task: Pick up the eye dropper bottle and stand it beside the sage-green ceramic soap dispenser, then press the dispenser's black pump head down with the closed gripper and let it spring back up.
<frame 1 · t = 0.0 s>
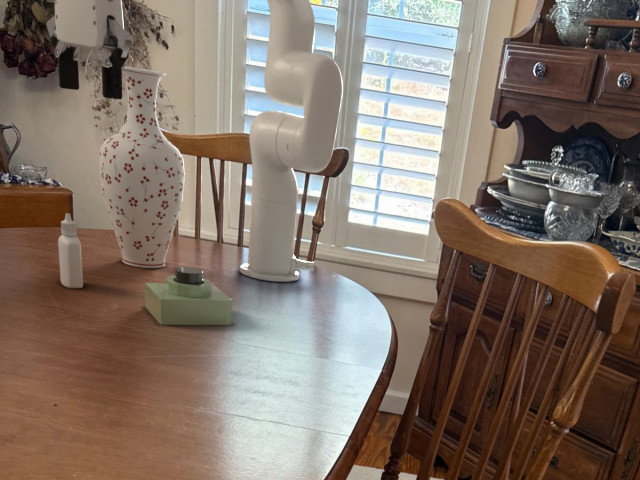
hand: (90, 93, 118), 31 cm above the table, tool pointing down, fingers open, 9 cm apart
eye dropper bottle: (72, 286, 138), on the table
pump: (188, 276, 129), point 7 cm above the table, slide at 0.1 cm
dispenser: (188, 316, 132), on the table
vase: (144, 264, 160), on the table
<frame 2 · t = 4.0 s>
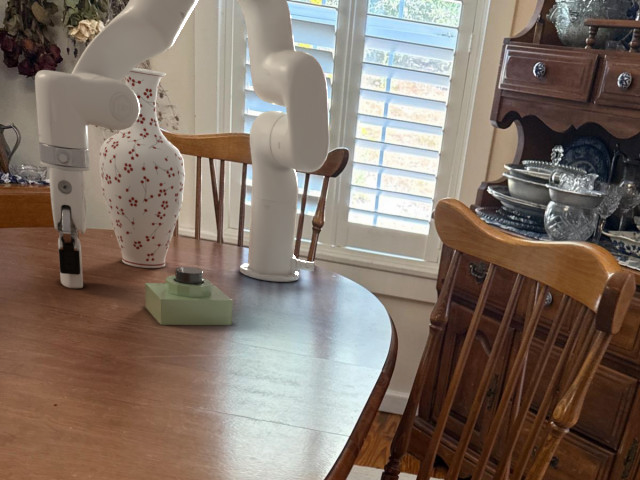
hand: (71, 268, 137), 3 cm above the table, tool pointing down, fingers closed on eye dropper bottle, 5 cm apart
eye dropper bottle: (72, 286, 138), on the table, touching gripper
everything else where it was.
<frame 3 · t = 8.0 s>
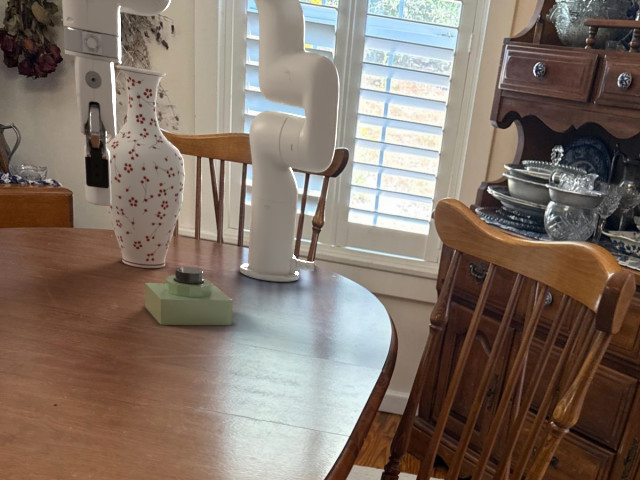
hand: (98, 182, 119), 20 cm above the table, tool pointing down, fingers closed on eye dropper bottle, 5 cm apart
eye dropper bottle: (98, 204, 120), point 16 cm above the table, touching gripper
everything else where it was.
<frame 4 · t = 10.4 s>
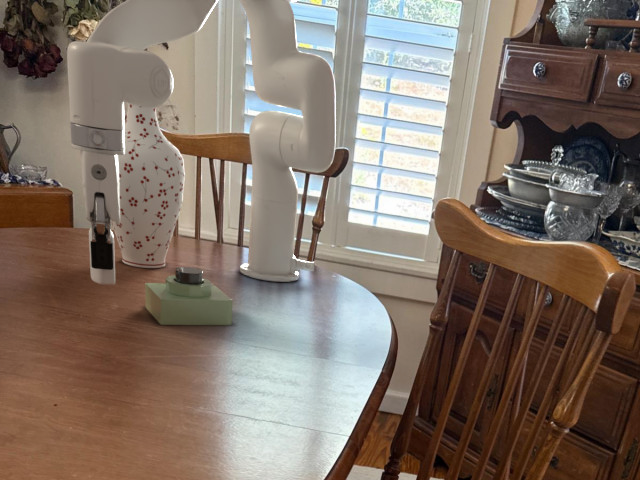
hand: (102, 262, 124), 8 cm above the table, tool pointing down, fingers closed on eye dropper bottle, 5 cm apart
eye dropper bottle: (103, 282, 126), point 5 cm above the table, touching gripper
everything else where it was.
when the fingers open (3 cm above the table, at t = 12.1 s): eye dropper bottle stays where it is, on the table.
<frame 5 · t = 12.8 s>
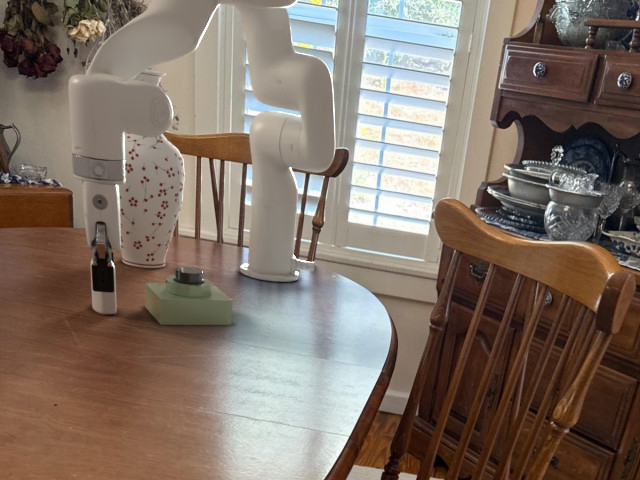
hand: (103, 283, 126), 4 cm above the table, tool pointing down, fingers open, 9 cm apart
eye dropper bottle: (104, 311, 128), on the table
everything else where it was.
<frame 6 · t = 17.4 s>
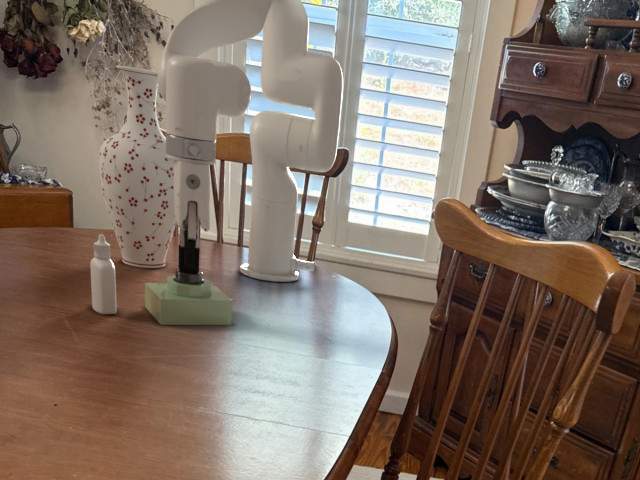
hand: (188, 271, 129), 8 cm above the table, tool pointing down, fingers closed
pump: (188, 277, 129), point 6 cm above the table, slide at -0.1 cm, touching gripper
everything else where it was.
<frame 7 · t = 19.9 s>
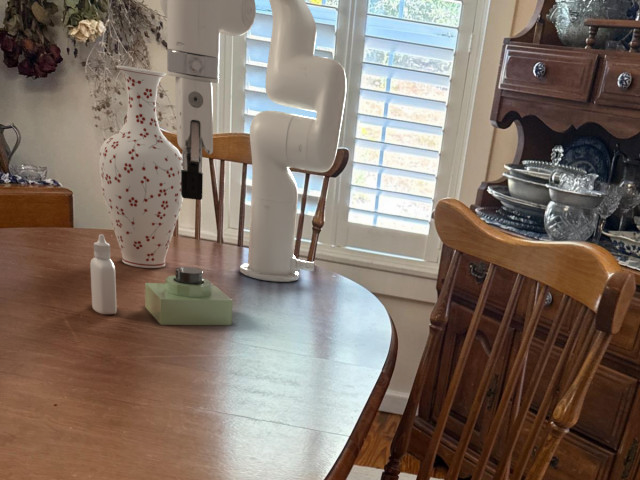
hand: (191, 197, 125), 19 cm above the table, tool pointing down, fingers closed
pump: (188, 276, 129), point 7 cm above the table, slide at 0.1 cm
everything else where it was.
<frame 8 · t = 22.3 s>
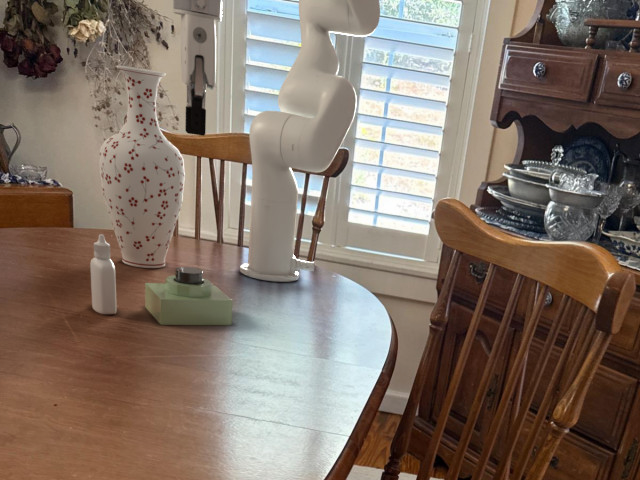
hand: (195, 133, 133), 27 cm above the table, tool pointing down, fingers closed
nothing on the table moved.
at the end: pump pushed in 1.1 cm at the most during the clip, back to where it started at the end; pump slide at 0.1 cm; eye dropper bottle 0.1 cm from the target spot, on the table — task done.
